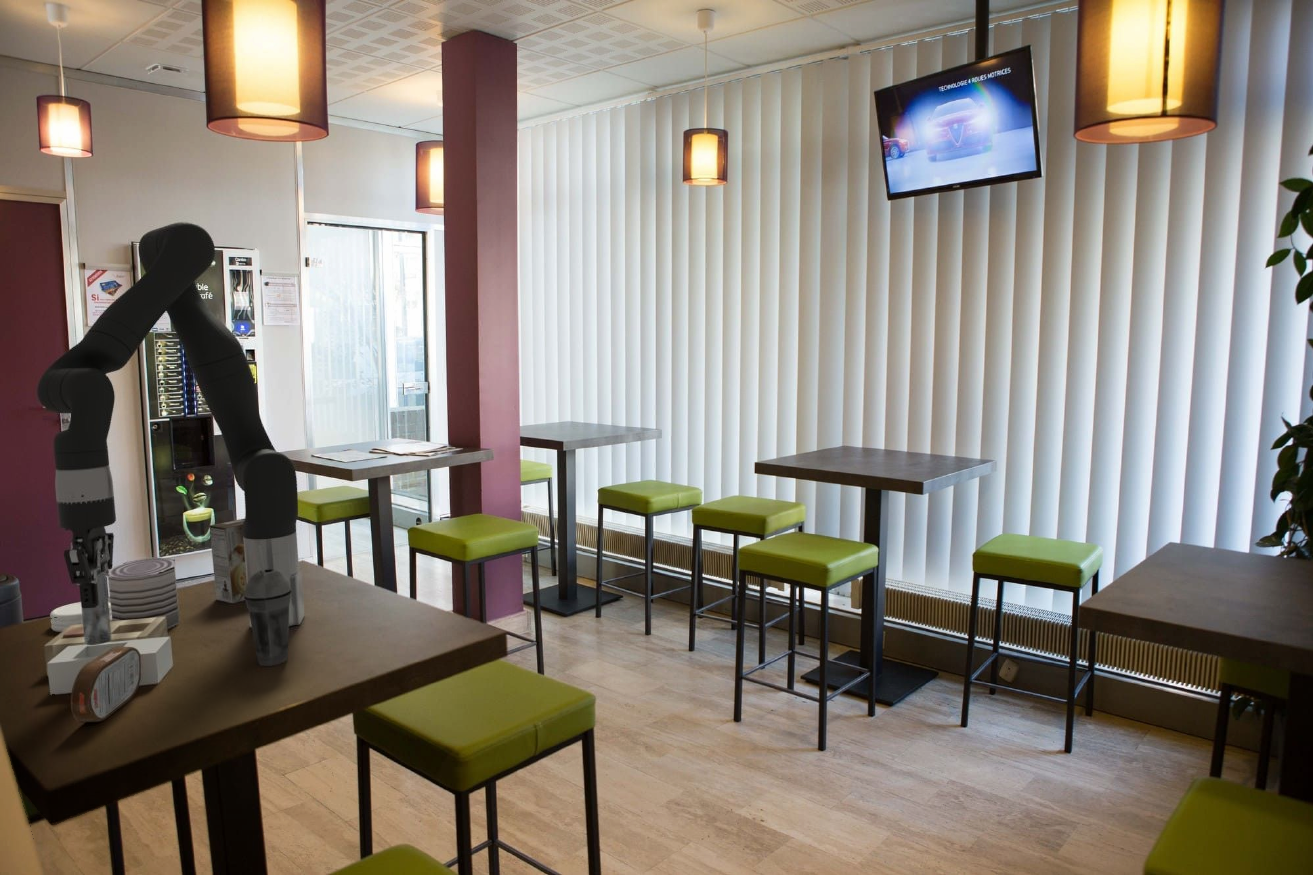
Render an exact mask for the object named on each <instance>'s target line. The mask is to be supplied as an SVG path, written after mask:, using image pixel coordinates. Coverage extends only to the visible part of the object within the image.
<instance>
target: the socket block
mask: <svg viewBox="0 0 1313 875" xmlns="http://www.w3.org/2000/svg"><path fill="white" fill-rule="evenodd" d="M75 627H83V624H78V625H71V626H69V627H68V628H67V629H65V630H64V631H63V632H59V634H57V635H56V636H55V637H54V638H52V639H51V640H49V641H48V642H47V643H46V644H45V645H43V648H44V649H43V650H44V657H45V658H44V659H45V667H46V668H45V669H46V676H48V667H47V663H48V662H50V661H51V660H52V659H53V658H54V657H56V656H57V655H58V654H59V653H61V652H62V651H63V650H64V649H65V648H67V647H68V646H76V645H86V644H85V640H84V637H74V638H63V635H64V634H65V633H66V632H68V631H69V630H70V629H72V628H75ZM110 627H111V638H112V639H111V640H110V641H109V642H118V641H128V640H139V639H149V638H159V637H169V634H168V629H167V621H166V617H155V618H144V619H133V620H122V621H112V620H111V621H110ZM106 643H107V642H106ZM48 677H49V676H48Z"/></svg>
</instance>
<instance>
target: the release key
mask: <svg viewBox="0 0 1313 875" xmlns="http://www.w3.org/2000/svg"><path fill="white" fill-rule="evenodd" d="M74 637H84V630H83V627H75V628H72V629H70V630H69V631H68V632H66V633H65V634H64V635H63V638H74Z"/></svg>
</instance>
